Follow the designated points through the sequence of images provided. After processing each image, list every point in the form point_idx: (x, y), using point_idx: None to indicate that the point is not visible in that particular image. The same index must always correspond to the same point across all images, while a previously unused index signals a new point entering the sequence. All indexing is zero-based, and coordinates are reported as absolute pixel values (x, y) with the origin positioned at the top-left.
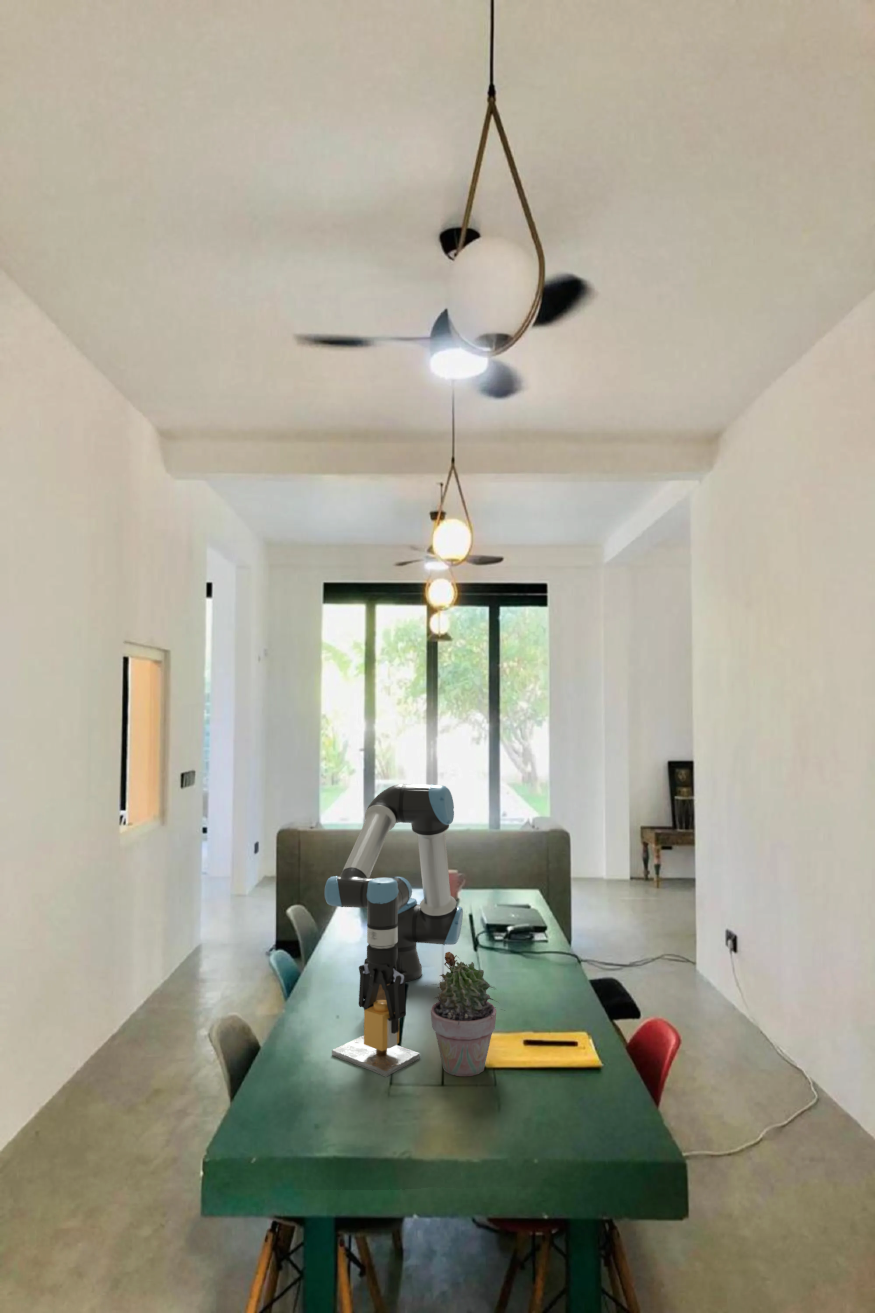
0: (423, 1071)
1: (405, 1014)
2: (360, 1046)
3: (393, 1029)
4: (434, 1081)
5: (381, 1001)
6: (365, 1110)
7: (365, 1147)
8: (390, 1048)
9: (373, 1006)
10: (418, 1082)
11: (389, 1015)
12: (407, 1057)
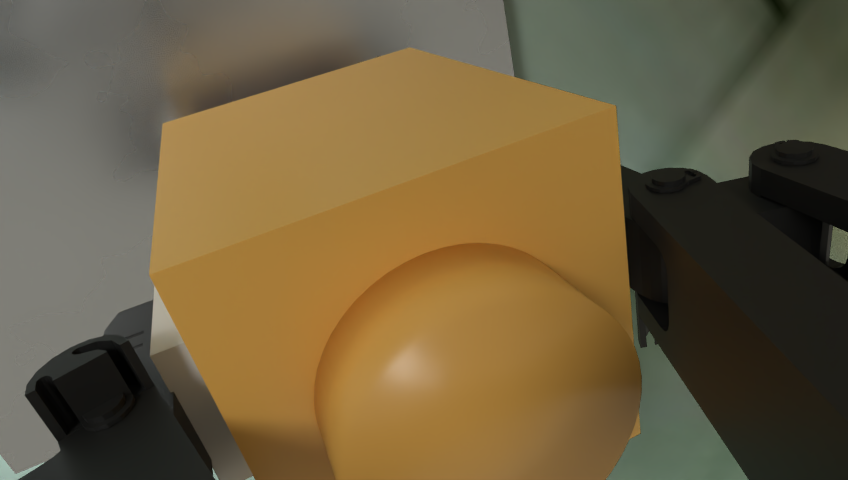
0: (618, 3)
1: (820, 151)
2: (62, 261)
3: None
4: (733, 28)
5: (443, 434)
6: (671, 424)
7: None
8: (251, 47)
9: (264, 461)
10: (680, 115)
11: (653, 332)
12: (483, 25)
